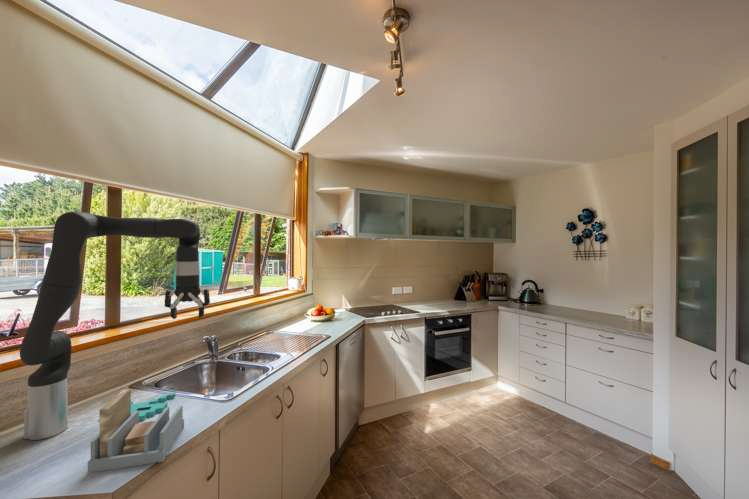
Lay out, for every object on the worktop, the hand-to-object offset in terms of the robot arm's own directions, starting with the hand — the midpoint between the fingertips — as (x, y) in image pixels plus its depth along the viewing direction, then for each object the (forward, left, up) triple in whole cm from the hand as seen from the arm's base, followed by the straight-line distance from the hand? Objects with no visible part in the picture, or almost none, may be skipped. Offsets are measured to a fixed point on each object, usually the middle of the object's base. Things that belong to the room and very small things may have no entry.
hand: (187, 317), depth 116 cm
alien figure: (-20, +8, -37) cm, 43 cm away
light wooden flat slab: (-15, -17, -36) cm, 43 cm away
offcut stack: (-8, -16, -36) cm, 41 cm away
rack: (-8, -17, -36) cm, 41 cm away
